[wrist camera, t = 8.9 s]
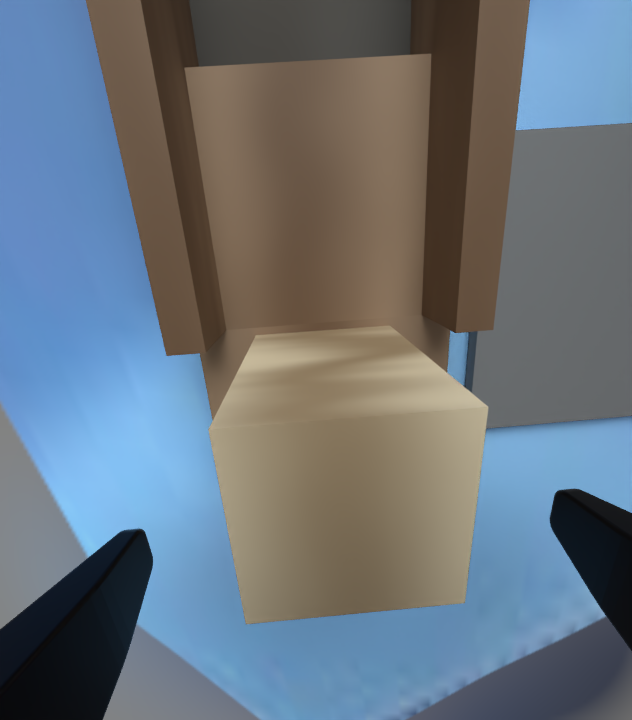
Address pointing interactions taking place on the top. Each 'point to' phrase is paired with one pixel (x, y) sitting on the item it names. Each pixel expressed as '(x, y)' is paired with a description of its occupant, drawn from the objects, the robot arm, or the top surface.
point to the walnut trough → (315, 164)
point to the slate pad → (562, 283)
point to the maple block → (347, 475)
